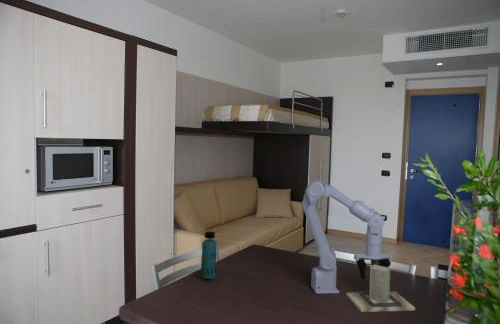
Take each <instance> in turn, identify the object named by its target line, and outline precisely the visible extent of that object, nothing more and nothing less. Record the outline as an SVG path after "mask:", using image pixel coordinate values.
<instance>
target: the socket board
mask: <svg viewBox="0 0 500 324" xmlns="http://www.w3.org/2000/svg"><path fill="white" fill-rule="evenodd" d="M369 292H370V290H359V291H357V292H346V297H347V298H348V299H349V300H350V301H351V302H352V303H353V305H355V307H356V308H357V309H358V311H360V312H362V313H369V312H370V313H371V312H373V313H374V312H375V313H376V312H403V311H405V312H407V311H410V312H411V311H415V310H416V307H415V306H414V305H413V304H411V303H410V302H409V301H407V300H406V299H405V298H404V297H403V296H401V295H400V294H399V293H398V292H397V291H390V295H389V301H388V302H387V303H381V302H378V301H374V300H371V299H369Z"/></svg>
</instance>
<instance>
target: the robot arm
mask: <svg viewBox="0 0 500 324" xmlns="http://www.w3.org/2000/svg"><path fill="white" fill-rule="evenodd" d="M322 196H323V197H324V198H333V200H335V201H337V202H338V203H340V204H342V205H343V206H345V207H347V208H348V211H349V213H350V214H351V215H353V216H354V217H356V218H357V219H360V221H362V222H365V223H366V224H367V225H366V226H367V227H366V228H367V229H366V234H365V235H366V236H365V252H362V253H354V254H353V260H355V263H356V264H357V266H358V267H357V268H358V270H359V274H360V275H359V276H360V278H361V279H362V280H365V278H366V270H367V269H366V268H367V263H366V261H371V260H379V266H383V267H387V268H390V266H391V264H392V262H391V261H392V260H393V255H392V254H391V253H382V246H383V245H382V243H383V227H384V226H385V221H384V218H383V216H382V215H381V214H380V213H379V212H378V211H376V210H375V209H374V208H371V207H369V206H367V205H366V204H365V202H364V201H362V200H361V201H360V200H352V199H351V198H349V197H348V196H346V195H345V194H344V193H343V192H340V191H339V189H336V188H335V187H334V186H332V185H330V184H328V183H326V182H323V181H322V180H321V179H318V178H317V179H316V178H315V179H313V180H311V181H310V182H309V183H308V184H307V187H306V189H305V190H304V194H303V200H302V202H301V206H302V209H303V211H304V215H305V217H306V220H307V223H308V226H309V228H310V231H311V233H312V236H313V239H314V242H315V245H316V249H317V252H318V255H319V263H318V266H316V267H312V269H311V279H310V281H311V282H310V283H311V284H310V287H311V288H312V290H313V291H314V293H315V294H317V295H318V294H340V290H339V289H337V271H338V270H337V269H338V268H337V259H336V258H337V257H336V256H337V254H336V251H335V250H334V249H333V248H332V247H331V244H330V243H329V241H328V238H327V235H326V233H325V230H324V226H323V225H322V222H321V220H320V216H319V213H318V210H317V209H316V206H315V205H316V203H317V201H318V199H320V198H321V197H322Z"/></svg>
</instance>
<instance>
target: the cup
mask: <svg viewBox="0 0 500 324" xmlns="http://www.w3.org/2000/svg"><path fill="white" fill-rule="evenodd" d="M370 264H371V266H373V265H379V260H370Z"/></svg>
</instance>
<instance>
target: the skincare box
mask: <svg viewBox="0 0 500 324" xmlns="http://www.w3.org/2000/svg"><path fill="white" fill-rule="evenodd" d="M390 288H391V267H388V268H387V267H383V266H379V265H373V266H372V265H371V266H369V291H370V292H369V299H371V300H374V301H378V302H381V303H387V302H388V301H389V295H390V292H391V289H390Z"/></svg>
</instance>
